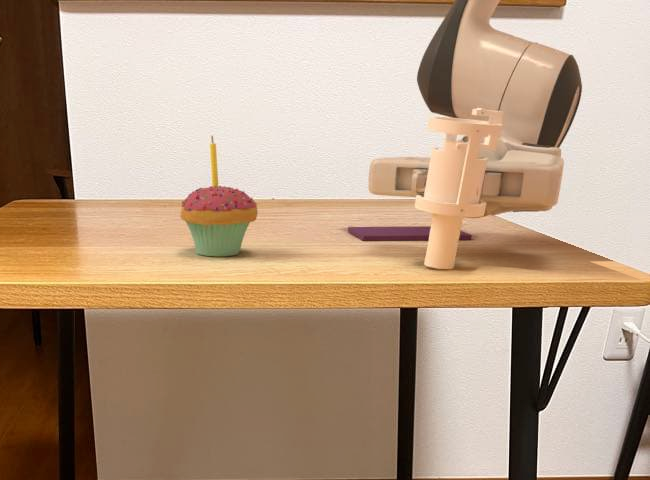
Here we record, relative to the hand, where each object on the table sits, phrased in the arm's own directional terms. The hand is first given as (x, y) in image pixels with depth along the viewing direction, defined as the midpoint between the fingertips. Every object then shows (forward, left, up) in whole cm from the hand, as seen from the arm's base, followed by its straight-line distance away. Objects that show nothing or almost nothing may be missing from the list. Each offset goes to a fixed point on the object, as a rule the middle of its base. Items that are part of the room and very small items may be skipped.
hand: (444, 185), depth 88 cm
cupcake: (+24, +3, -8) cm, 26 cm away
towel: (+10, -22, -8) cm, 25 cm away
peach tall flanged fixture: (0, -1, -8) cm, 8 cm away
